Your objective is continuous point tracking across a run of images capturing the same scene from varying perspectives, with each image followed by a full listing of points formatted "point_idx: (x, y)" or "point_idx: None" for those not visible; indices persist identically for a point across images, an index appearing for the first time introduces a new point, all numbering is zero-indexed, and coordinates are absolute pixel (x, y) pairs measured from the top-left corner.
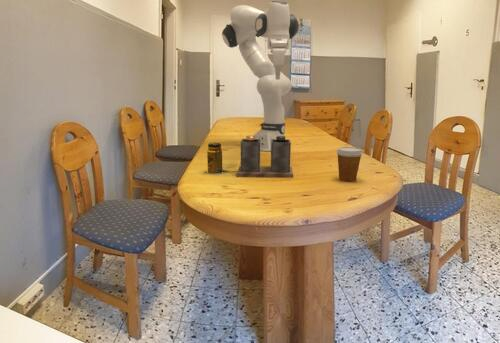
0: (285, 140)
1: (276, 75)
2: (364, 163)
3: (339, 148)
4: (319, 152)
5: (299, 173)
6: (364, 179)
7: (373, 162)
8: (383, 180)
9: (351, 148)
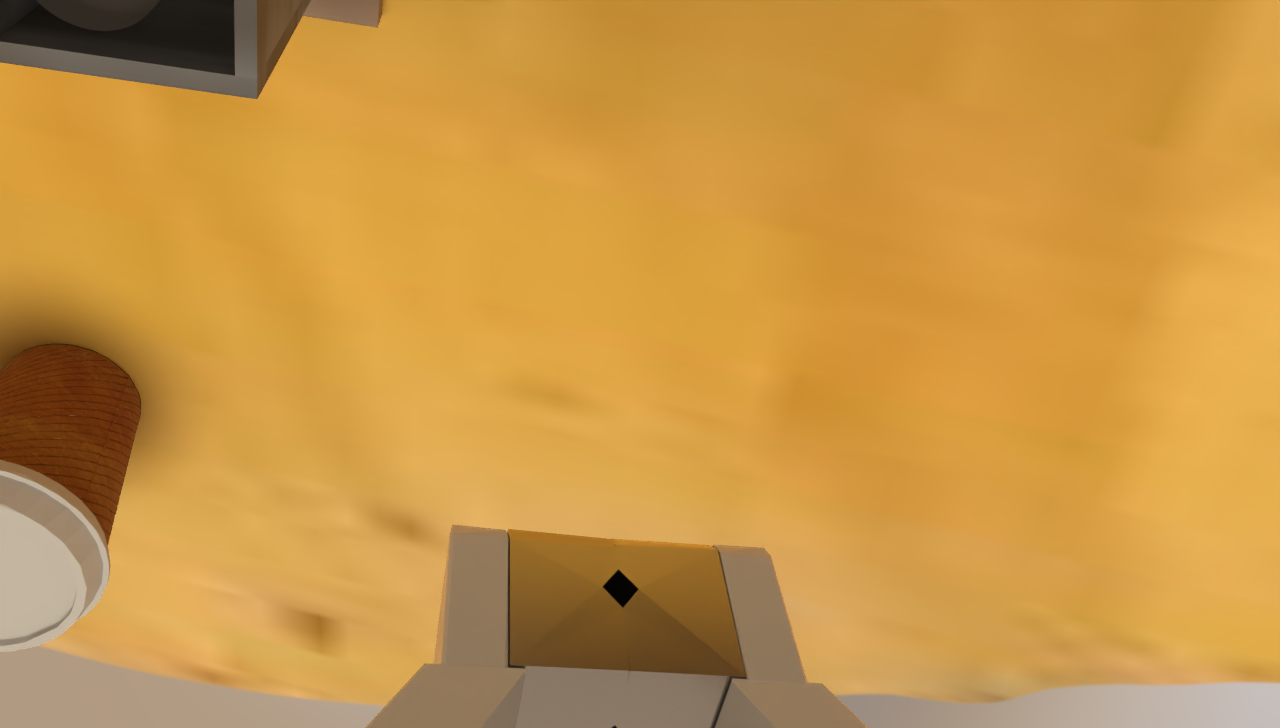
0: (237, 33)
1: (444, 678)
2: None
3: (7, 512)
4: (1080, 435)
5: None
6: None
7: None
8: None
9: (56, 600)
